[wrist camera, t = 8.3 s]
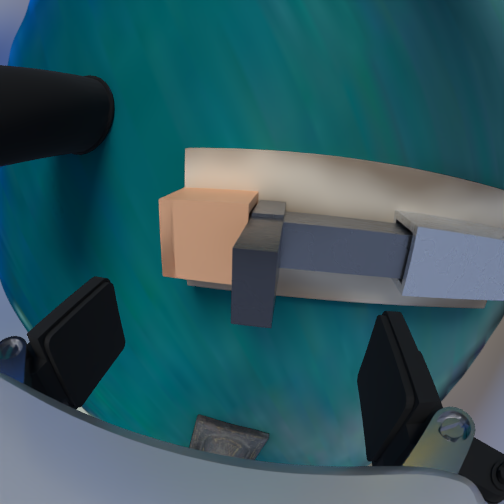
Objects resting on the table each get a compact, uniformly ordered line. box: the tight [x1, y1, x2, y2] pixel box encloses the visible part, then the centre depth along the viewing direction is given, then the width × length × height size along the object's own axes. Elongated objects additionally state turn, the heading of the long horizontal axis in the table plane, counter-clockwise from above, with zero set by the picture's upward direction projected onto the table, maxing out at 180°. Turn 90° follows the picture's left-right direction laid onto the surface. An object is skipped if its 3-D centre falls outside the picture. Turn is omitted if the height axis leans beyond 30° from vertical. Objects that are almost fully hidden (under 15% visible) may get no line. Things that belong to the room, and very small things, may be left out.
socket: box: [159, 187, 259, 285], centre depth 22 cm, size 6×6×5 cm
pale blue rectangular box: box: [391, 210, 504, 301], centre depth 20 cm, size 5×12×5 cm, turn 87°
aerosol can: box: [0, 65, 114, 167], centre depth 15 cm, size 8×8×20 cm
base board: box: [185, 148, 504, 308], centre depth 24 cm, size 12×30×2 cm, turn 87°
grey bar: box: [231, 200, 413, 328], centre depth 18 cm, size 4×16×10 cm, turn 87°
